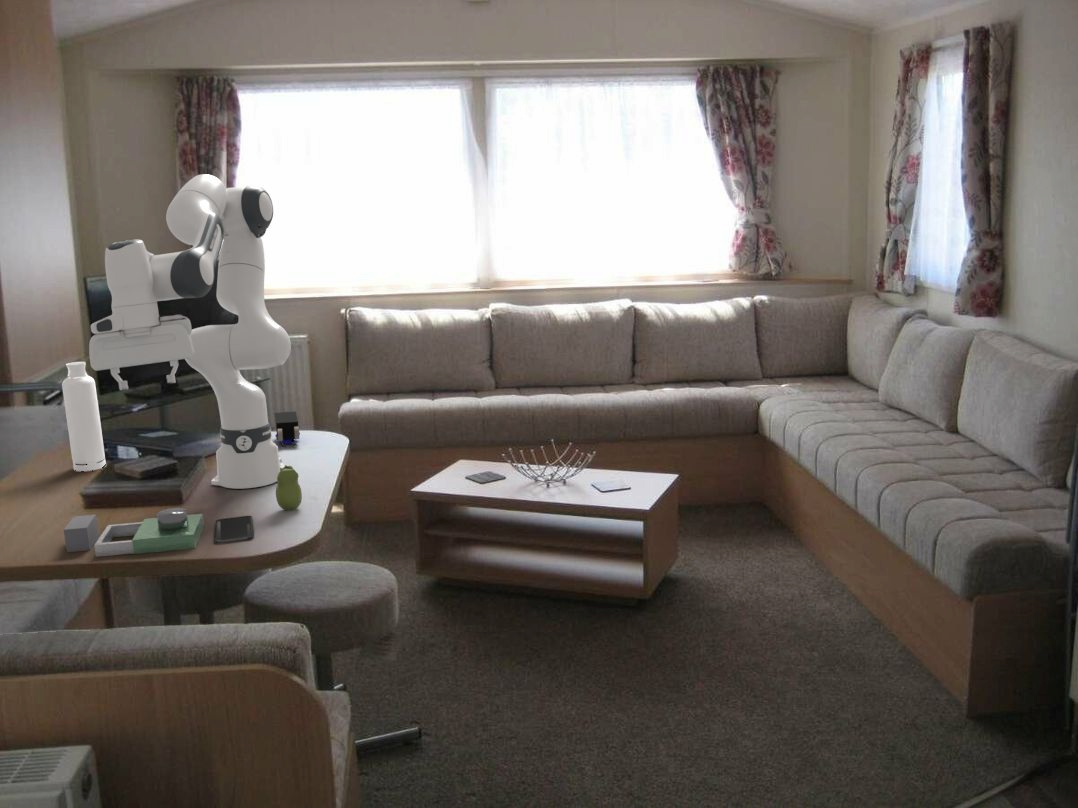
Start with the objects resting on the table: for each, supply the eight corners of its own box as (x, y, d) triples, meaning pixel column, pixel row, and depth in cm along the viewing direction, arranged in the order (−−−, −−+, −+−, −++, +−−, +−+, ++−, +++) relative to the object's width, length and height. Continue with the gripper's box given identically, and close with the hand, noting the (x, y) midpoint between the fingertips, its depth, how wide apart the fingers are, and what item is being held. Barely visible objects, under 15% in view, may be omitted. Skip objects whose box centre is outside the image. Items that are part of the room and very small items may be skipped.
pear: (300, 504, 254) (296, 461, 252) (305, 510, 250) (301, 467, 247) (275, 508, 252) (271, 465, 250) (280, 515, 247) (275, 471, 245)
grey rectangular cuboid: (77, 538, 238) (74, 516, 237) (99, 536, 239) (96, 514, 238) (67, 552, 229) (63, 529, 228) (89, 550, 230) (86, 527, 229)
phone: (214, 541, 230) (215, 519, 244) (215, 546, 230) (216, 524, 244) (253, 536, 232) (252, 514, 246) (254, 541, 232) (253, 519, 246)
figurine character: (303, 451, 309) (298, 433, 322) (301, 425, 306) (296, 408, 320) (278, 454, 307) (274, 435, 321) (275, 427, 304) (271, 410, 318)
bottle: (70, 467, 297) (56, 363, 291) (102, 461, 301) (88, 359, 295) (77, 473, 290) (62, 367, 284) (109, 467, 295) (95, 363, 289)
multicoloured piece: (109, 535, 239) (106, 508, 237) (203, 526, 242) (200, 500, 240) (95, 557, 225) (91, 529, 224) (195, 548, 228) (191, 520, 227)
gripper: (190, 312, 233) (201, 378, 235) (88, 325, 229) (99, 392, 231) (187, 313, 227) (198, 380, 229) (82, 326, 223) (93, 394, 225)
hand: (148, 386), depth 230 cm, fingers open, 8 cm apart
